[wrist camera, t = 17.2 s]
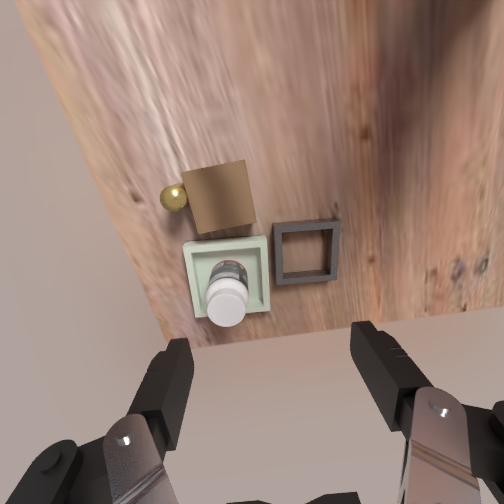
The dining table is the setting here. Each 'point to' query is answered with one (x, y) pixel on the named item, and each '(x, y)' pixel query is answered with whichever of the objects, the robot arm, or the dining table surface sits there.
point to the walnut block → (220, 196)
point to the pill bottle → (227, 293)
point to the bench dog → (174, 197)
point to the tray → (238, 248)
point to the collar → (332, 251)
